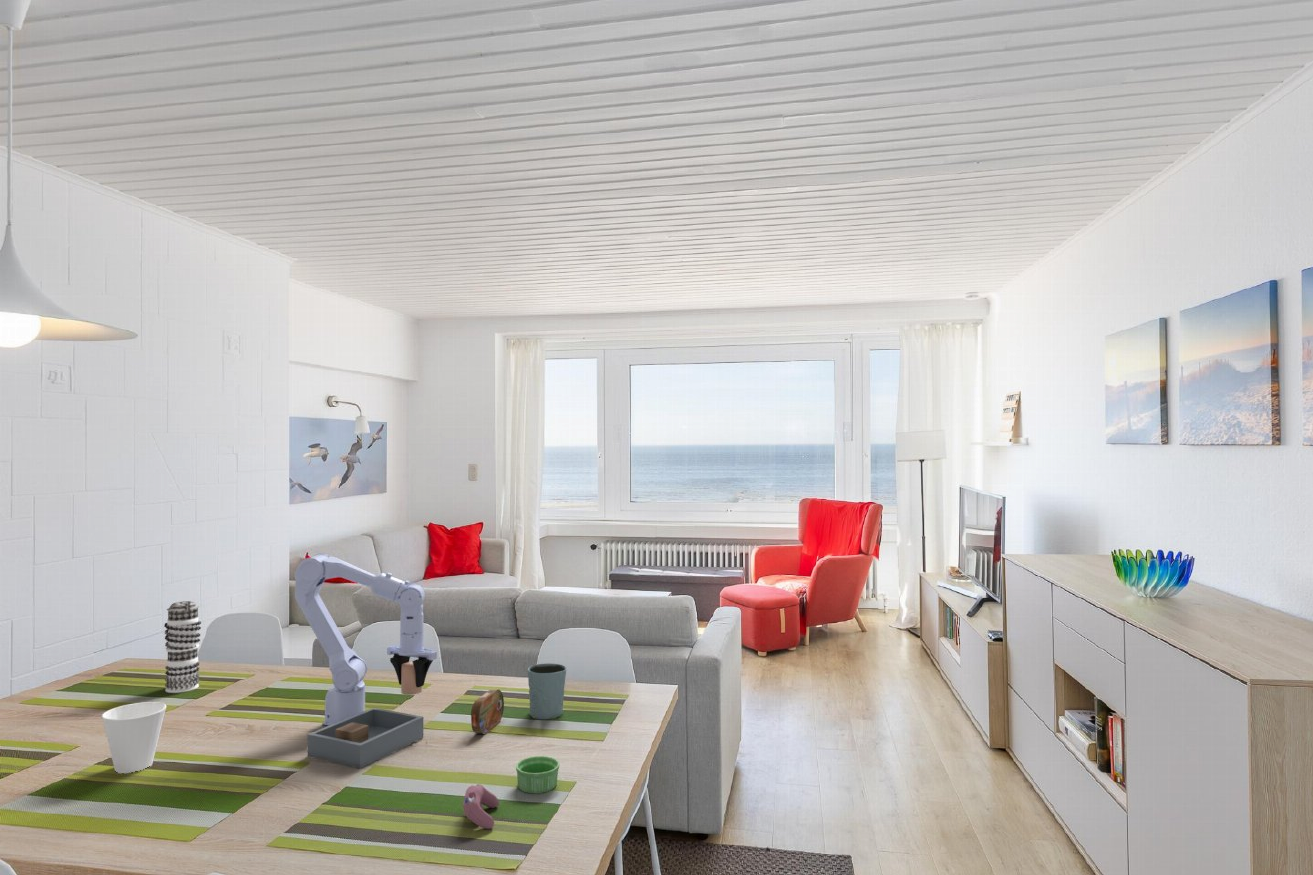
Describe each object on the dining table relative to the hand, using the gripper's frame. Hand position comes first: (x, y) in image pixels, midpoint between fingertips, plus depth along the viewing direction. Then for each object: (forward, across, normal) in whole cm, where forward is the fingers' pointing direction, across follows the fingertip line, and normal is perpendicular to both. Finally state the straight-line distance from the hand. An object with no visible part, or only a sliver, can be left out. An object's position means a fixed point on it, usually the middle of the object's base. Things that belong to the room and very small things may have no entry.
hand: (411, 684), depth 198 cm
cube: (+8, +2, -23) cm, 24 cm away
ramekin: (+9, +50, -20) cm, 55 cm away
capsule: (+2, 0, 0) cm, 2 cm away
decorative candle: (+9, -80, -5) cm, 81 cm away
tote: (+9, +2, -18) cm, 20 cm away
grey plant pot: (+9, +30, +18) cm, 36 cm away
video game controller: (+9, +48, -37) cm, 61 cm away
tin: (+9, +21, +3) cm, 23 cm away
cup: (+9, -36, -47) cm, 60 cm away
